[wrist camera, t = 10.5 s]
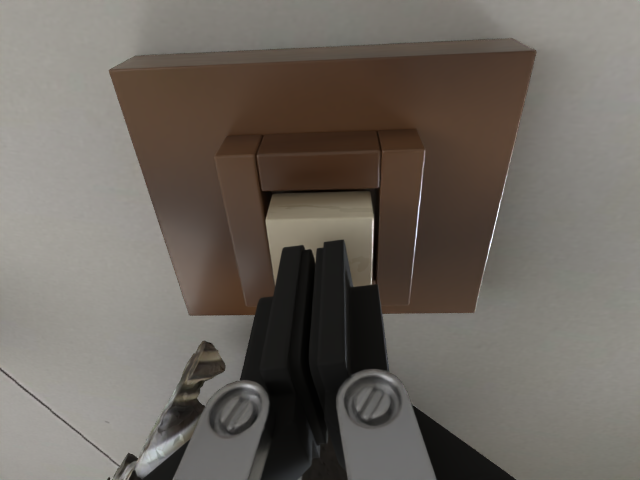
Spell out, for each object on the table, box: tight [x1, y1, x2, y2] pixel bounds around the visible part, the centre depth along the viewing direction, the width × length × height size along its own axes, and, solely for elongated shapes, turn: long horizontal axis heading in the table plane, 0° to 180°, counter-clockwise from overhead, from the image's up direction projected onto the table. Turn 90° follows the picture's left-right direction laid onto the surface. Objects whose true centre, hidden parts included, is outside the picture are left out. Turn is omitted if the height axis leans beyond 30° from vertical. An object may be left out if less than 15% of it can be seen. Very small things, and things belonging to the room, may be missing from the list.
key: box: [266, 191, 374, 287], centre depth 13 cm, size 3×3×2 cm
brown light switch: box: [109, 38, 536, 316], centre depth 14 cm, size 10×12×4 cm
